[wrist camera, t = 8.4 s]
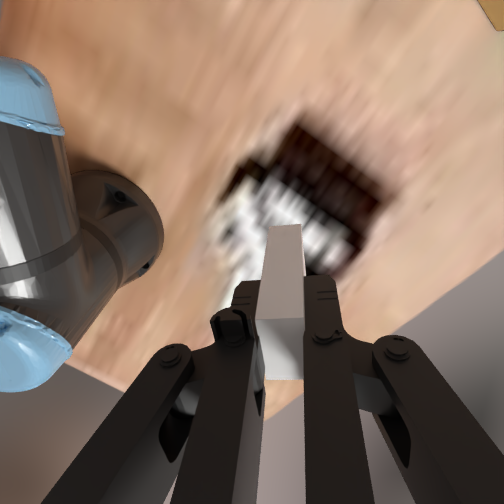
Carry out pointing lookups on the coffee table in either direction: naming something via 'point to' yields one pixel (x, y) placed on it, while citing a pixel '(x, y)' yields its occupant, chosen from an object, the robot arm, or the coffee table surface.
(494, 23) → the puzzle cube
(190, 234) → the coffee table surface
